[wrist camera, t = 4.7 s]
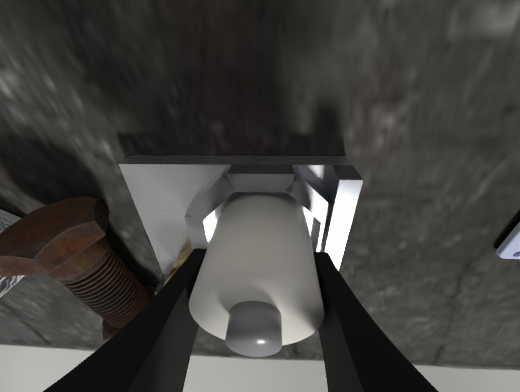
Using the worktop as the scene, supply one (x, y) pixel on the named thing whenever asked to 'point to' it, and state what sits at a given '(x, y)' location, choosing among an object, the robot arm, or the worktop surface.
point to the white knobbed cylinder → (259, 276)
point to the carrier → (228, 187)
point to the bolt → (76, 258)
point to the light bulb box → (3, 221)
